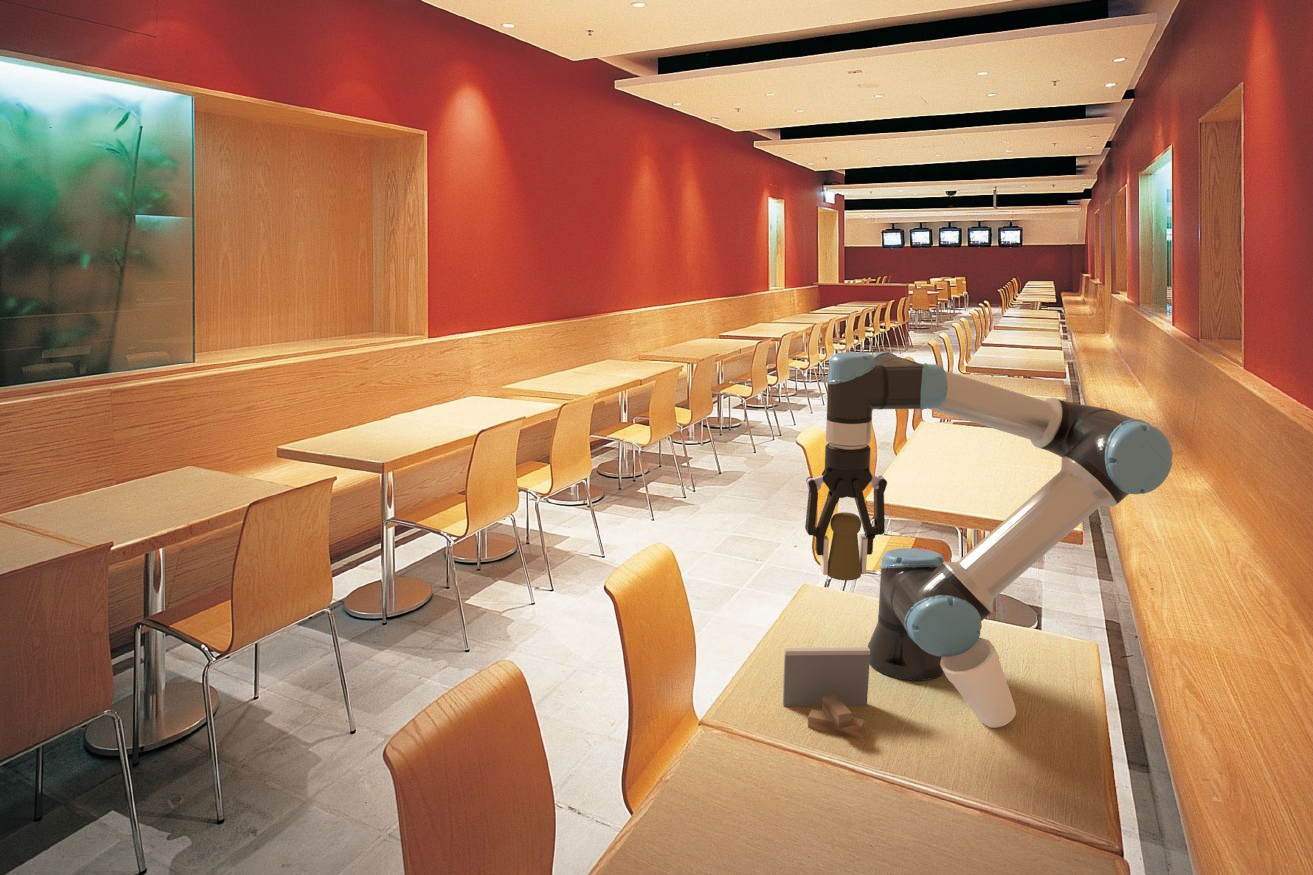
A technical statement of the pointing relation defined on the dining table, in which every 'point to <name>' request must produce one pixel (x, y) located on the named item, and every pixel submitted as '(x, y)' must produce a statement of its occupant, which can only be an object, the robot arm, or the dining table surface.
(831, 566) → the cork
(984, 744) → the dining table surface
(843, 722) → the offcut top
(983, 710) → the foam cup
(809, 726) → the offcut low
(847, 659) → the board
